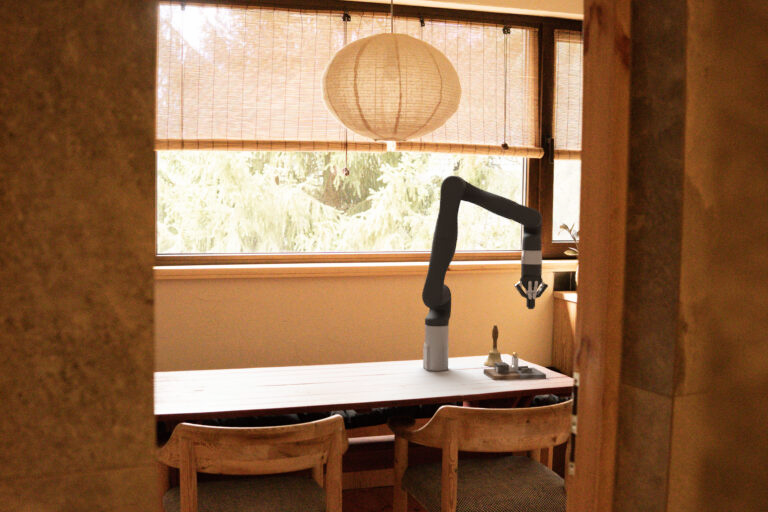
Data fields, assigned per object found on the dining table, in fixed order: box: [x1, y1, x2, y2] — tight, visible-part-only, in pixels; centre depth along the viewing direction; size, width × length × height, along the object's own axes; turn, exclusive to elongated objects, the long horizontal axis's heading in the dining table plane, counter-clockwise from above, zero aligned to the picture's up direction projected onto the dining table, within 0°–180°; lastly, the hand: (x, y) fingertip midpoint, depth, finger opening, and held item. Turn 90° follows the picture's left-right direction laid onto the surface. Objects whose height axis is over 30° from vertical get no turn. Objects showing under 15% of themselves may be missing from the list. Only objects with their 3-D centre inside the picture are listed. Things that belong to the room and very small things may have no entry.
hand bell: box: [483, 324, 503, 368], centre depth 283 cm, size 8×8×16 cm
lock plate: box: [483, 361, 547, 381], centre depth 263 cm, size 20×12×5 cm, turn 100°
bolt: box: [494, 351, 519, 372], centre depth 263 cm, size 8×2×7 cm, turn 100°
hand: (530, 308), depth 263 cm, fingers closed
